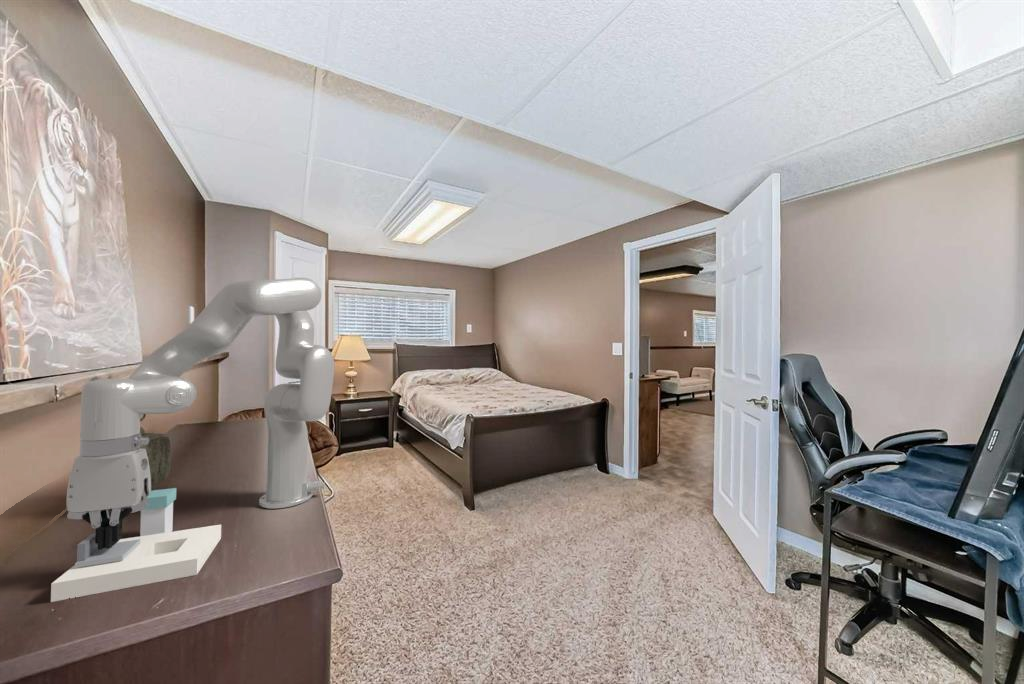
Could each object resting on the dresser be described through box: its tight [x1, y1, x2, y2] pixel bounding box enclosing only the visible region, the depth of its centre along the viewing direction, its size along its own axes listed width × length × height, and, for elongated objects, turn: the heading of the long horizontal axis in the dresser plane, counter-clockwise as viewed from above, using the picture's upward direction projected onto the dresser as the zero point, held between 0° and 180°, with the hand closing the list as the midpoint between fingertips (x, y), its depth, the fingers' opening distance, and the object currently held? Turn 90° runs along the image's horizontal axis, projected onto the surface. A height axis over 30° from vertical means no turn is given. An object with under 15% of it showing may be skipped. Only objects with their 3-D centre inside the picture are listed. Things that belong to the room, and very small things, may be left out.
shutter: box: [74, 530, 140, 568], centre depth 69 cm, size 6×6×4 cm
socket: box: [50, 524, 222, 603], centre depth 71 cm, size 19×14×3 cm
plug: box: [139, 487, 177, 536], centre depth 81 cm, size 5×5×10 cm
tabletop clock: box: [140, 414, 172, 487], centre depth 98 cm, size 14×9×25 cm, turn 178°
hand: (108, 545), depth 69 cm, fingers closed
